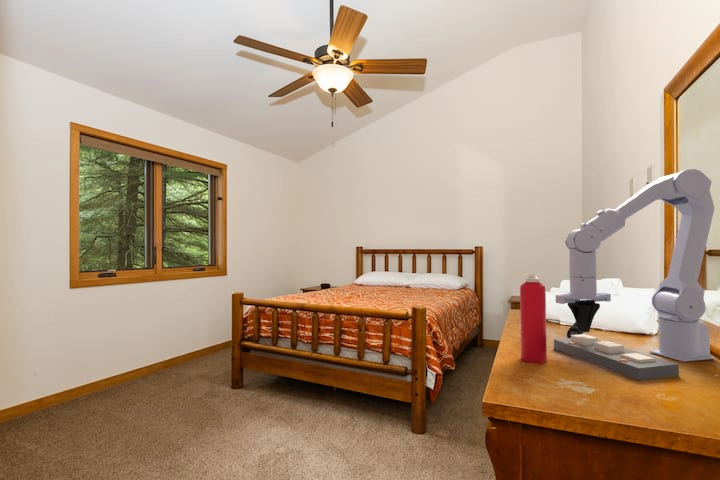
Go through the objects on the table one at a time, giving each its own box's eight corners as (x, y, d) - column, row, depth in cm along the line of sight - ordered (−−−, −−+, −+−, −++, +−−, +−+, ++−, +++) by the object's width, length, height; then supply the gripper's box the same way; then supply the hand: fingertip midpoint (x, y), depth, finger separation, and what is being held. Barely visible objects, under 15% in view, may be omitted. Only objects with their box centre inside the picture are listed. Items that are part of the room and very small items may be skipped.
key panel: (586, 346, 97) (586, 336, 97) (679, 376, 75) (678, 363, 75) (553, 349, 95) (553, 338, 95) (639, 380, 72) (638, 367, 73)
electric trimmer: (585, 330, 117) (585, 320, 117) (581, 340, 104) (581, 329, 105) (572, 329, 119) (571, 319, 119) (566, 338, 107) (566, 327, 107)
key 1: (584, 346, 94) (584, 334, 94) (597, 351, 90) (597, 337, 90) (571, 347, 93) (571, 335, 93) (584, 352, 89) (583, 339, 89)
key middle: (608, 354, 87) (608, 341, 87) (623, 359, 83) (623, 345, 83) (594, 355, 86) (594, 342, 86) (609, 360, 82) (609, 346, 82)
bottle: (549, 364, 83) (547, 275, 83) (522, 362, 84) (521, 275, 85) (544, 357, 88) (542, 274, 88) (519, 355, 90) (518, 273, 90)
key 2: (636, 367, 80) (636, 352, 80) (654, 373, 76) (654, 358, 76) (621, 369, 79) (621, 354, 80) (639, 375, 76) (638, 359, 76)
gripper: (593, 274, 97) (594, 326, 97) (546, 276, 94) (547, 329, 94) (617, 277, 90) (618, 332, 90) (567, 278, 87) (568, 336, 87)
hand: (583, 331), depth 92 cm, fingers closed
